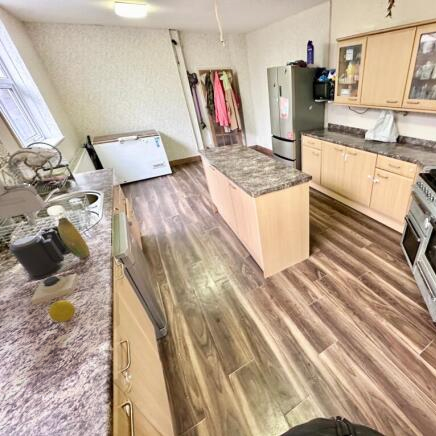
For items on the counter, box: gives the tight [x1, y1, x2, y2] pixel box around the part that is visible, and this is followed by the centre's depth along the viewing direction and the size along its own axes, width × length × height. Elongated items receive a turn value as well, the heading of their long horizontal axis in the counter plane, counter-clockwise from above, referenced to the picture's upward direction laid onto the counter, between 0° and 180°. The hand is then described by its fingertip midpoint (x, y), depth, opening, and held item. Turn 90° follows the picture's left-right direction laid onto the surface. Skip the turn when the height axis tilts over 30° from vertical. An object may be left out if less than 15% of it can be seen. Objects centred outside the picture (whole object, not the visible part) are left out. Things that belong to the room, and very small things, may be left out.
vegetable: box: [57, 216, 90, 259], centre depth 98 cm, size 6×6×20 cm
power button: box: [42, 275, 59, 287], centre depth 84 cm, size 4×4×2 cm
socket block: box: [30, 272, 80, 306], centre depth 85 cm, size 11×9×4 cm
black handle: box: [40, 225, 72, 256], centre depth 105 cm, size 12×9×12 cm
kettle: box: [8, 235, 65, 282], centre depth 92 cm, size 12×10×16 cm
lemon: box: [48, 299, 76, 323], centre depth 72 cm, size 6×6×8 cm
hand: (14, 229), depth 76 cm, fingers open, 8 cm apart
